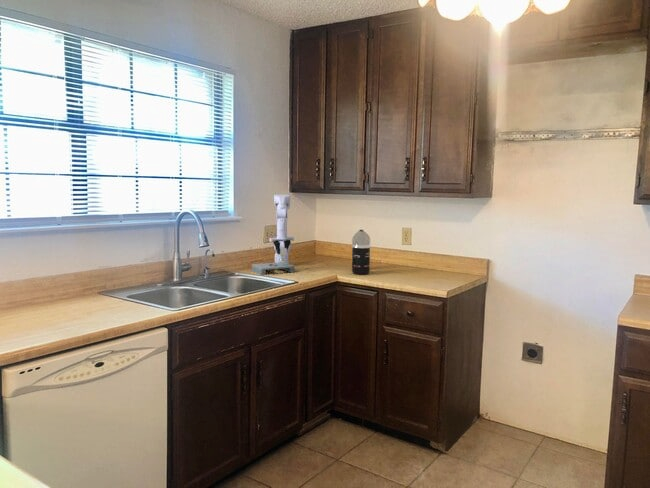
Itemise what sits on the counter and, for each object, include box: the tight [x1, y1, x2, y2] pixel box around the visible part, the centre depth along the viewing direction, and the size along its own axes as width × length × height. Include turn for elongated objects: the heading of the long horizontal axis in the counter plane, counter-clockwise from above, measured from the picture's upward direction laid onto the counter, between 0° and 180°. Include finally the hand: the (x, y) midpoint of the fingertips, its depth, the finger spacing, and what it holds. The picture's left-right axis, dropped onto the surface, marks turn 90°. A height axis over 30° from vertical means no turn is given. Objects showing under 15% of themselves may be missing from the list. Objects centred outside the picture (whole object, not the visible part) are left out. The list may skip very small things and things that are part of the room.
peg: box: [278, 247, 287, 261], centre depth 302 cm, size 4×4×7 cm
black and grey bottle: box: [351, 229, 371, 276], centre depth 296 cm, size 10×10×25 cm
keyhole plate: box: [251, 262, 296, 276], centre depth 303 cm, size 16×20×4 cm
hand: (282, 253), depth 302 cm, fingers closed on peg, 4 cm apart
